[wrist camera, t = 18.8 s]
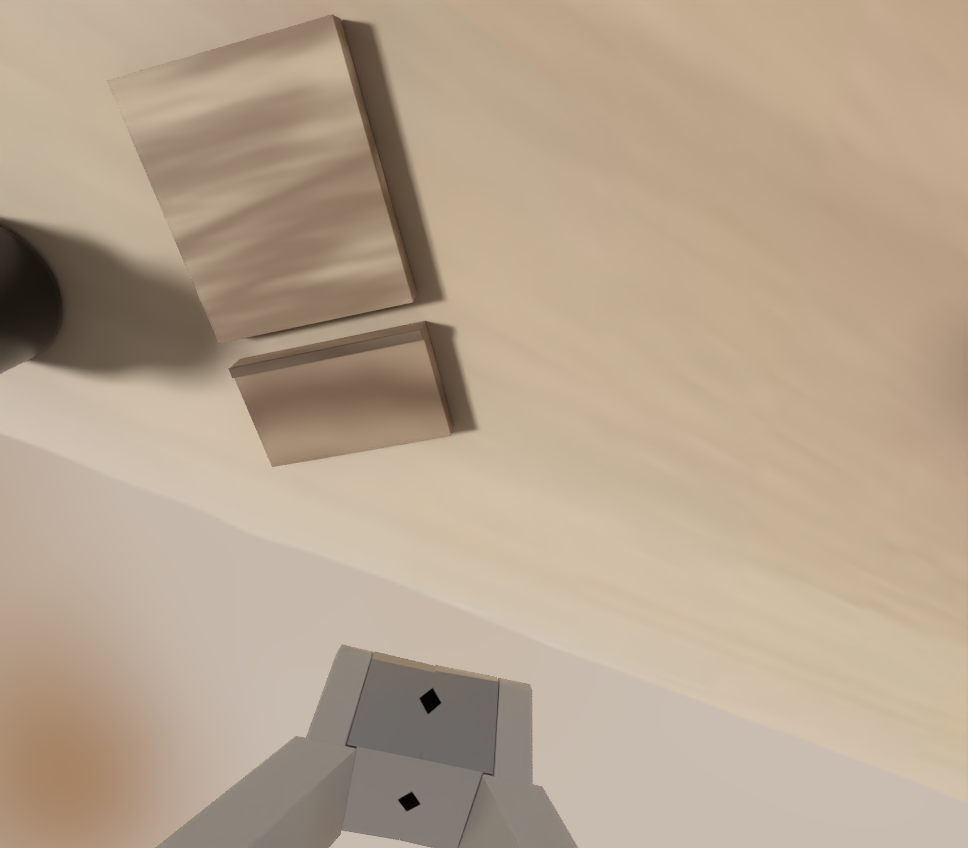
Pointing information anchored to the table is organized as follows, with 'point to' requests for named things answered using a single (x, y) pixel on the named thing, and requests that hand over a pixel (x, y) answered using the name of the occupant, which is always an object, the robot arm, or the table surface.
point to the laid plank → (345, 395)
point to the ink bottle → (25, 302)
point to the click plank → (270, 180)
